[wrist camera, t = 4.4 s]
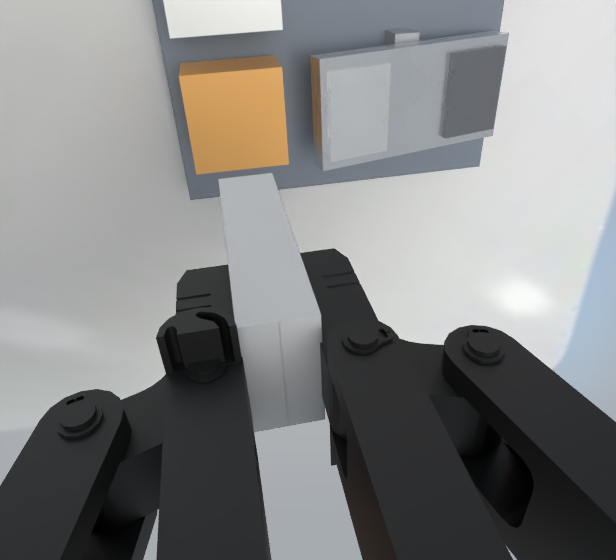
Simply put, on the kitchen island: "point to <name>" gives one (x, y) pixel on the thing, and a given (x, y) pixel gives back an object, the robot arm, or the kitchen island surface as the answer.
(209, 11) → the button
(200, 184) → the panel
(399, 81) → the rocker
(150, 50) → the kitchen island surface
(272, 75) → the button
